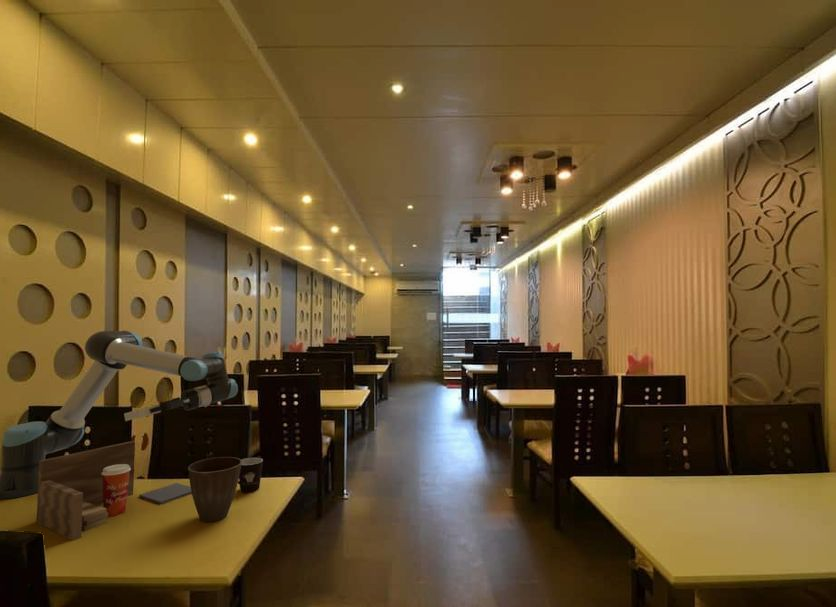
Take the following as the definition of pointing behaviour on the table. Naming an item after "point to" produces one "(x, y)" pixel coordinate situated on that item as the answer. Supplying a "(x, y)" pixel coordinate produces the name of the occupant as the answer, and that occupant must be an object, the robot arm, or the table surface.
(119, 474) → the paper cup
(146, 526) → the table surface
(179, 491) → the rubber mat
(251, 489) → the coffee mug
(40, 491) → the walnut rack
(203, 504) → the plant pot
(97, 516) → the offcut stack
